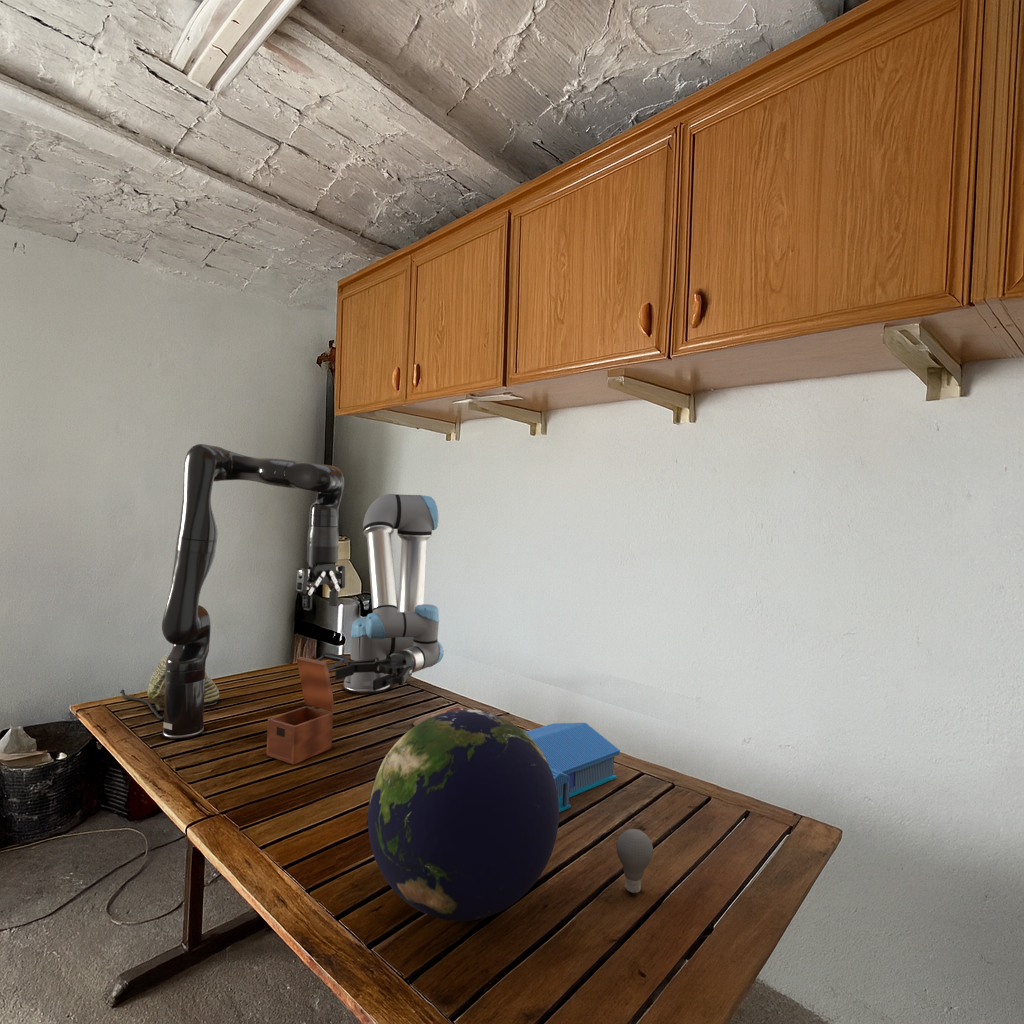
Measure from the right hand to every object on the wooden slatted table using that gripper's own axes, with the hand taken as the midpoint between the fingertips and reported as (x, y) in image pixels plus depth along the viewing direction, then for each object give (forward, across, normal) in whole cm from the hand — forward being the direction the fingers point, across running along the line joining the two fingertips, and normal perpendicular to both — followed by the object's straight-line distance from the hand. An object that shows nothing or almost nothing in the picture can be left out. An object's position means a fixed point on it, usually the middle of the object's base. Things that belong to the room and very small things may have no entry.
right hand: (354, 680), depth 171 cm
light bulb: (+26, -88, -11) cm, 92 cm away
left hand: (+12, +2, +21) cm, 24 cm away
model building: (+2, -56, -12) cm, 57 cm away
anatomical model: (-18, -16, -14) cm, 28 cm away
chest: (+18, +1, -14) cm, 22 cm away
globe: (+44, -65, -11) cm, 80 cm away
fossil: (+14, +53, -15) cm, 57 cm away
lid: (+13, +1, +2) cm, 14 cm away
